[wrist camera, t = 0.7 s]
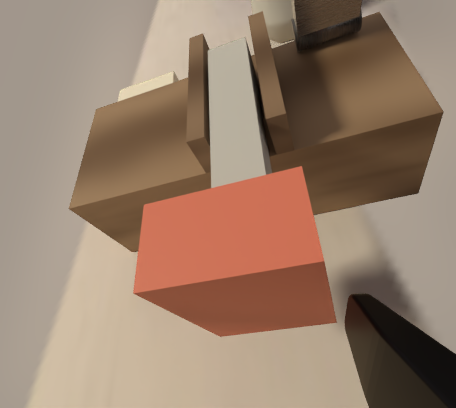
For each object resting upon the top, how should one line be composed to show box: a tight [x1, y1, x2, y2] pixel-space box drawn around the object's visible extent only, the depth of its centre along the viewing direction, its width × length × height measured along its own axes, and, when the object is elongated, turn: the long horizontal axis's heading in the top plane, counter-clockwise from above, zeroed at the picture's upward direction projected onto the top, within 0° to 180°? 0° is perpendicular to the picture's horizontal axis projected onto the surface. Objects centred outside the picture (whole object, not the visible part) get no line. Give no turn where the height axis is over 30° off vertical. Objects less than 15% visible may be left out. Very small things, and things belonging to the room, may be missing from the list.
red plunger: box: [133, 37, 337, 337], centre depth 13 cm, size 13×4×6 cm, turn 4°
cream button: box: [118, 71, 179, 102], centre depth 24 cm, size 2×4×5 cm, turn 94°
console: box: [69, 11, 443, 252], centre depth 18 cm, size 8×18×8 cm, turn 94°
